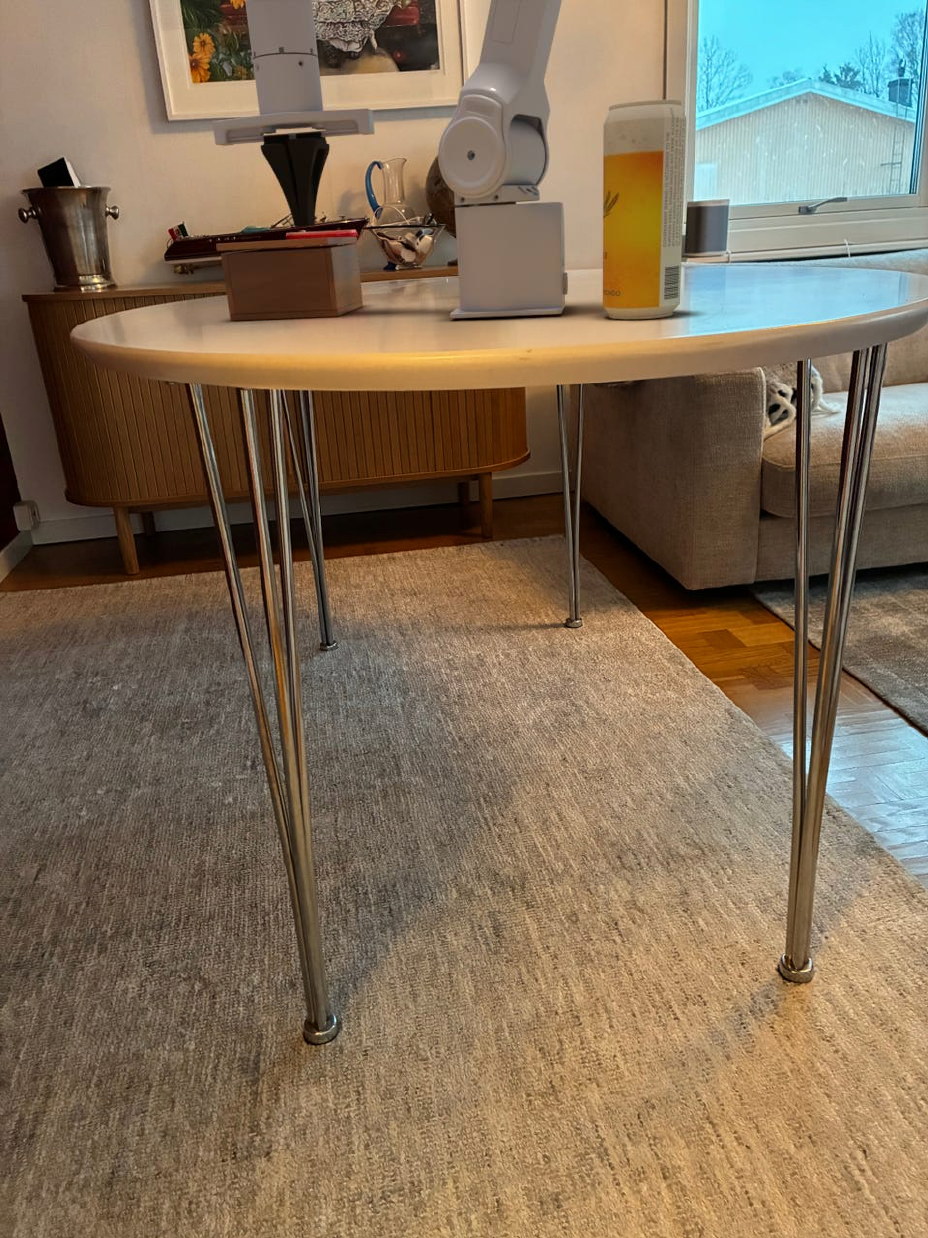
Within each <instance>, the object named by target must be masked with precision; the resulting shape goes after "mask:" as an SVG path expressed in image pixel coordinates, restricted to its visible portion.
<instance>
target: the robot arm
mask: <svg viewBox="0 0 928 1238" xmlns="http://www.w3.org/2000/svg"><path fill="white" fill-rule="evenodd" d="M562 2H563V0H490V5H489V9H488V15H487V19H486V24H485V25H486V26H485V30H484V36H483V40H482V46H481V51H480V55H479V56H480V57H479V62H478V64H477V67H476V68H475V70H474V71H473V72H472V73H471V75H470V76H469V78H467V80H466V81H465V83H464V84H463V86H462V87H461V88H460V91H459V96H458V99H457V105H456V108H455V111H454V113H453V115H452V117H451V119H450V121H449V122H448V123H447V125H446V127H445V128H444V130H443V132H442V134H441V136H440V139H439V143H438V149H437V161H438V166H439V171H440V174H441V177H442V179H443V181H444V182H445V184H446V185H447V187H448V188H449V189H450V190H452V191H453V194H454V200H453V201H454V206H458V207H454V217H455V218H454V219H455V238H456V255H457V274H458V275H457V276H458V294H459V307H458V308H456V309H454V310H453V311H451V312H450V313H449V318H450V319H469V318H470V319H472V318H493V317H494V318H495V317H519V316H539V315H540V316H543V315H560V314H562V313H563V310H564V309H565V306H566V295H568V293H569V275H568V272H566V262H565V261H566V258H565V255H566V254H565V253H566V251H565V250H566V249H565V248H566V247H565V242H566V241H565V211H564V203H563V202H562V201H549V202H539V201H540V200H541V193H540V190H539V188H538V187H540V185H541V184H542V182H543V181H544V179H545V178H546V175H547V172H548V169H549V165H550V147H549V141H548V134H547V133H548V123H549V120H550V119H549V118H550V115H551V106H550V103H549V98H548V94H547V90H546V86H545V78H546V73H547V69H548V64H549V59H550V55H551V51H552V46H553V42H554V38H555V33H556V28H557V24H558V20H559V15H560V11H561V8H562V7H561V6H562ZM244 3H245V11H246V19H247V20H246V21H247V26H248V34H249V43H250V49H251V58H252V63H253V71H254V80H255V81H254V82H255V87H256V95H257V103H258V112H259V115H253V116H252V115H251V116H245V117H238V118H237V117H236V118H230V119H221V120H220V119H219V120H212V122H211V123H212V129H213V130H212V131H213V138H214V144H215V145H216V146H221V147H225V146H226V147H227V146H234V145H242V144H255V143H263V144H260V146H259V147H260V151H261V153H262V156H263V158H264V159H265V160H266V162H267V163H268V165H269V167H270V168H271V170H272V172H273V174H274V176H275V178H276V180H277V182H278V184H279V186H280V189H281V190H282V193H283V195H284V197H285V200H286V203H287V205H288V208H289V211H290V214H291V218H292V221H293V225H294V227H295V228H300V227H312V226H313V227H314V226H315V225H316V207H317V199H318V193H319V192H318V191H319V188H320V183H321V179H322V175H323V172H324V168H325V164H326V162H327V159H328V157H329V154H330V147H331V146H330V143H328V142H327V138H332V137H334V138H335V137H344V136H345V137H347V136H358V135H361V136H368V135H370V136H371V135H375V123H374V111H373V110H372V109H370V108H367V107H366V108H354V109H334V110H333V109H331V110H329V109H328V110H324V102H323V95H322V94H323V92H322V83H321V75H320V73H321V72H320V65H319V64H320V63H319V58H318V57H319V53H318V44H317V36H316V26H315V17H314V16H315V15H314V6H313V0H244ZM310 128H311V129H312V130H314V131H301V132H287V133H277V130H297V129H298V130H299V129H310ZM537 201H538V202H537ZM522 202H523V203H522ZM525 202H530V203H525ZM472 205H474V206H472ZM475 205H476V206H475Z"/></svg>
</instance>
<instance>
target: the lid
mask: <svg viewBox="0 0 928 1238" xmlns="http://www.w3.org/2000/svg"><path fill="white" fill-rule="evenodd" d="M344 244H358V237H357V236H339V237H337V236H336V237H333V236H332V237H314V238H297V239H296V238H295V239H294V238H293V239H283V240H282V239H279V240H260V241H244V242H241V241H240V242H225V243H216V244H215V247H216V251H217V252H218V251H219V252H220V251H221V252H222V251H243V250H255V249H270V248H289V247H307V246H325V245H344Z"/></svg>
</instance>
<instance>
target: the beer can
mask: <svg viewBox="0 0 928 1238" xmlns="http://www.w3.org/2000/svg"><path fill="white" fill-rule="evenodd" d="M682 103H683V102H682V100H679V99H652V100H649V99H648V100H639V101H638V100H637V101H629V102H623V103H617V104H613V105H610V106H609V107H608V113H607V115H606V118H605V120H604V123H603V135H602V136H603V139H602V140H603V142H602V143H603V144H602V146H603V147H602V148H603V151H602V152H603V153H602V154H603V156H602V157H603V158H602V160H603V161H602V169H603V171H602V172H603V173H602V174H603V175H602V176H603V177H602V188H603V189H602V200H603V201H602V307H603V310H605V311H606V312H607V314H608V317H609V318H610V319H614V320H616V319H617V320H648V319H649V320H650V319H660V318H667V317H670V316H673V314H674V311H675V310H676V309H677V308H678V306H679V305H680V304H681V284H682V283H681V282H682V280H681V279H682V255H683V254H682V251H683V229H684V228H683V226H684V225H683V224H684V201H685V200H684V197H685V168H686V145H687V116H686V113H685V112H684V111H685V110H684V108H683V105H682Z"/></svg>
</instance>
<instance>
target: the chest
mask: <svg viewBox="0 0 928 1238" xmlns="http://www.w3.org/2000/svg"><path fill="white" fill-rule="evenodd" d="M358 248H359V247H358V243H352V244H334V245H315V246H297V247H279V248H261V249H246V250H237V251H231V252H224V253H220V257H221V265H222V272H223V278H224V284H225V292H226V298H227V304H228V306H227V307H228V310H229V317H230V322H238V321H239V322H241V321H263V320H265V321H266V320H286V319H308V318H309V319H311V318H312V319H313V318H333V317H335V318H337V317H339V316H342V315H345V314H347V313H349V312H352V311H355V310H357V309H360V308H361V307H364V303H363V302H364V301H363V290H362V280H361V269H360V259H359V249H358Z"/></svg>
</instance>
